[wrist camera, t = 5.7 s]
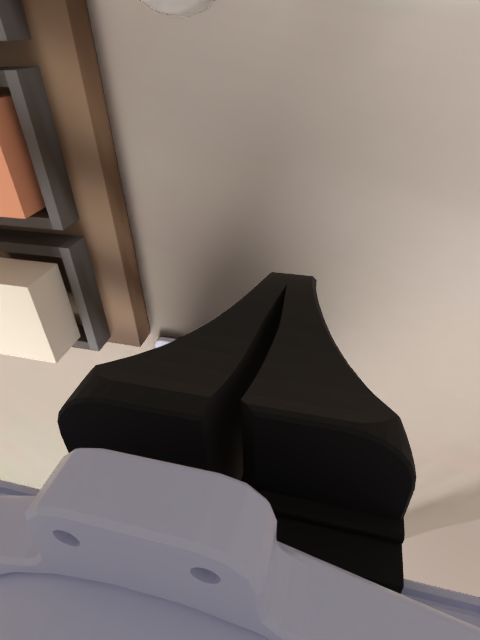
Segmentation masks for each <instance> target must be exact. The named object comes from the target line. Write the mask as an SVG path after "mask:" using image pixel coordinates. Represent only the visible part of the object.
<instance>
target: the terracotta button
mask: <svg viewBox="0 0 480 640" xmlns="http://www.w3.org/2000/svg"><path fill="white" fill-rule="evenodd" d="M45 207H46V205H45V202H44V199H43V196H42V192H41V189H40V186H39V183H38V180H37V176H36V173H35V170H34V167H33V163H32V160H31V157H30V154H29V151H28V147H27V144H26V141H25V138H24V135H23V131H22V128H21V125H20V122H19V118H18V115H17V112H16V109H15V106H14V102H13V99H12V96H11V93H10V92H0V217H9V218H21V219H26V218H28V217H30V216H31V215H33V214H35V213H36V212H38V211H40V210H41V209H43V208H45Z"/></svg>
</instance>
